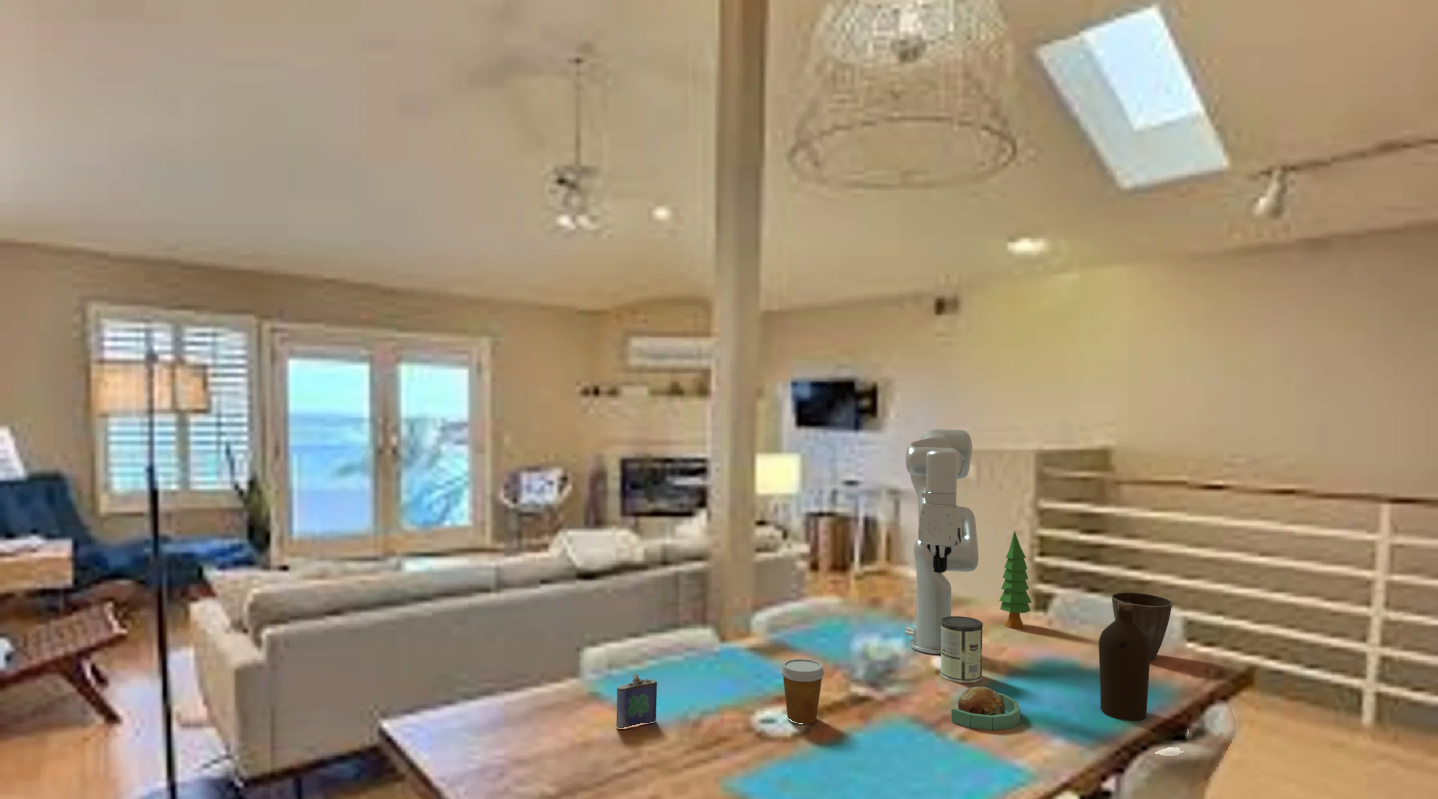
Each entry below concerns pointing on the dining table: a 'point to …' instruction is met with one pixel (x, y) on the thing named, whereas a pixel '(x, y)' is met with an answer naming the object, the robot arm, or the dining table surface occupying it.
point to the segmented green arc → (990, 717)
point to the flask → (636, 702)
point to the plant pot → (1147, 615)
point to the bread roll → (981, 701)
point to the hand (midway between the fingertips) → (939, 571)
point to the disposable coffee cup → (802, 689)
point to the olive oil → (1124, 667)
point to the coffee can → (961, 649)
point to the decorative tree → (1015, 585)
